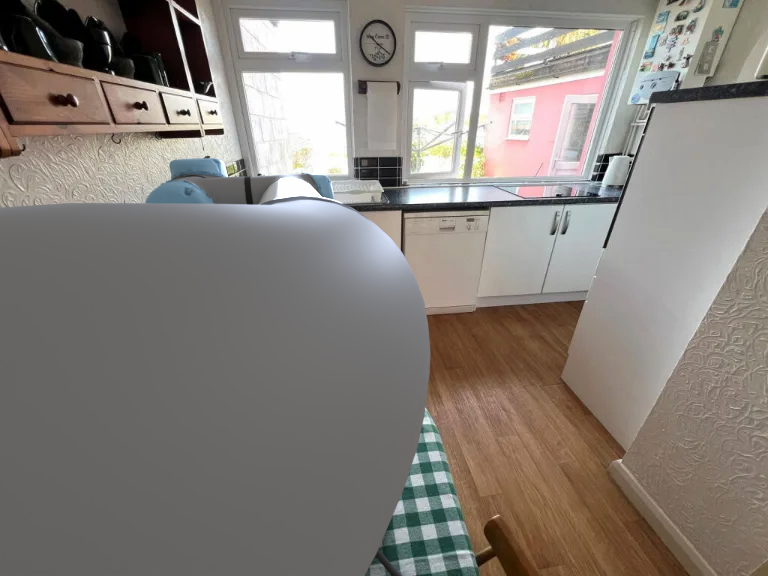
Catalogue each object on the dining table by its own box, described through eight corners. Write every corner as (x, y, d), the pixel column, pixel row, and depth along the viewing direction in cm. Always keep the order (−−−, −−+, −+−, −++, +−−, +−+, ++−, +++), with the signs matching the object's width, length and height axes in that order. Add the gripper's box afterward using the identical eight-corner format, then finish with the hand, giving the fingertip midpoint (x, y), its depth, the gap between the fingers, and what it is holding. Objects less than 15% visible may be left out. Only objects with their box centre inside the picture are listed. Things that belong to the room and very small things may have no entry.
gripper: (165, 249, 57) (196, 345, 66) (241, 280, 43) (267, 395, 52) (206, 239, 62) (230, 329, 71) (285, 264, 49) (302, 371, 58)
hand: (246, 357), depth 62 cm, fingers open, 13 cm apart
